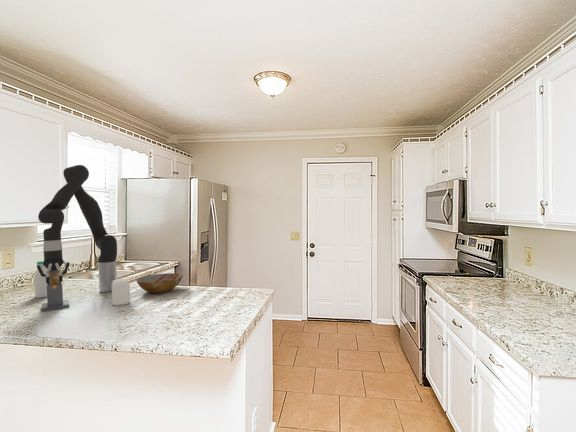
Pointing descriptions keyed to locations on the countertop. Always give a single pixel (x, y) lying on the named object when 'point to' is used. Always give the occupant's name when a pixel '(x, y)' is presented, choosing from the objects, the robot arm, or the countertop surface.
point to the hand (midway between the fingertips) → (54, 283)
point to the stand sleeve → (54, 298)
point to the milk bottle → (40, 282)
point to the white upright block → (120, 292)
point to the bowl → (159, 282)
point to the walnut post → (54, 277)
